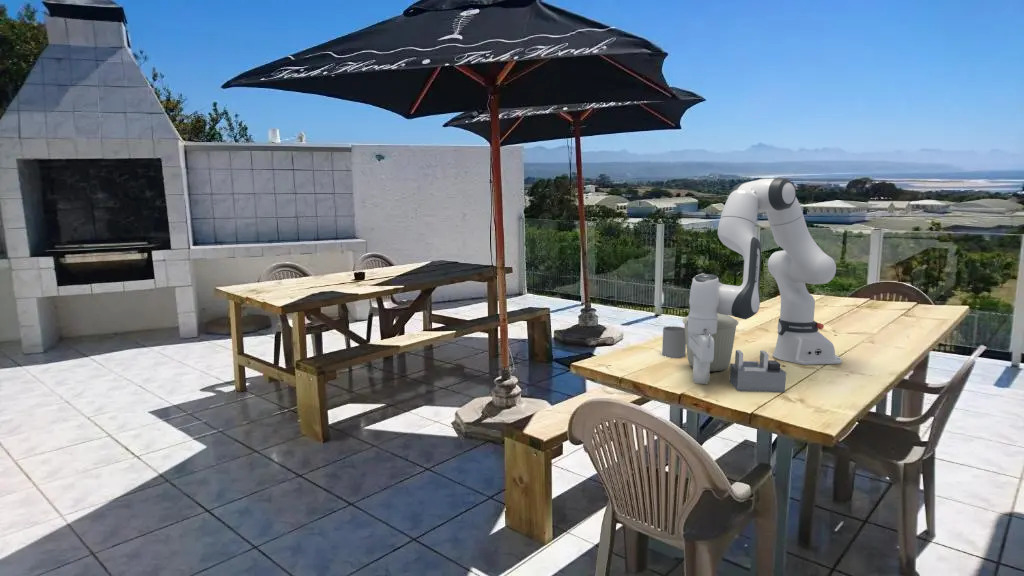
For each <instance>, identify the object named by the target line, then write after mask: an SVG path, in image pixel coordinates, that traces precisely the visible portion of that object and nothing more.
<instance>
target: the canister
mask: <svg viewBox="0 0 1024 576" xmlns="http://www.w3.org/2000/svg"><path fill="white" fill-rule="evenodd" d="M717 315H718V321H717V333H716V334H712V337H713V339H714V360H713V362H710V372H721V371H725V370H726V369H727V368H728V367H730V366H729V365H730V363H731V360H732V359H731V358H732V354H733V349H734V343H735V337H736V331H737V330H736V329H737V326H738V325H739V320H737V319H735V317H734V316H729V315H723V314H719V313H717ZM687 320H688V315H687V316H685V317H683V318H682V323H683V324H684V328H685V337H686V354H687V355H686V356H687V361H688V364H689V365H690V366H691V368H693V363H694V358H693V351H692V350H691V349H690V348H689V346H688V330H687V328H688V327H687Z"/></svg>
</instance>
